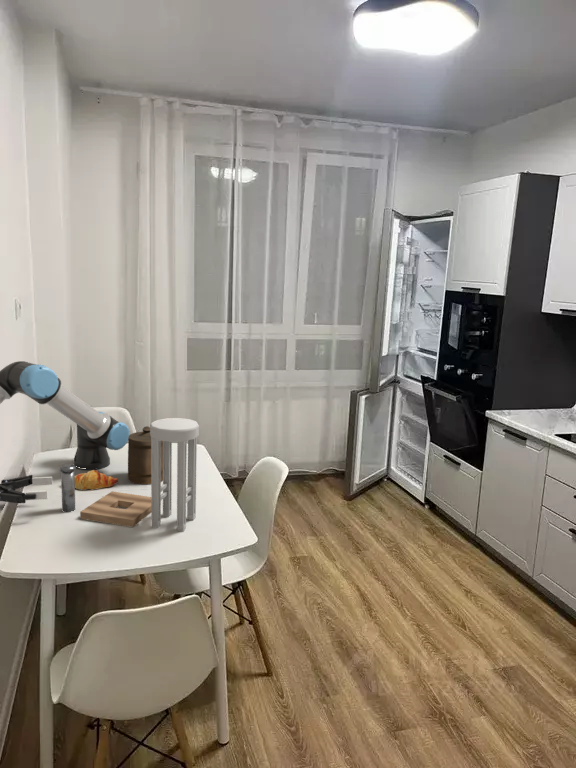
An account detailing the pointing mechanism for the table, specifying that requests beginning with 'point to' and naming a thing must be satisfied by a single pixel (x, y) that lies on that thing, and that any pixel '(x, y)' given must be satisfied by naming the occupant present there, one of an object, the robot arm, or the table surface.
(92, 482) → the croissant
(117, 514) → the keeper block
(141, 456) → the wooden container
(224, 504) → the table surface
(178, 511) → the stool
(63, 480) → the link pin
